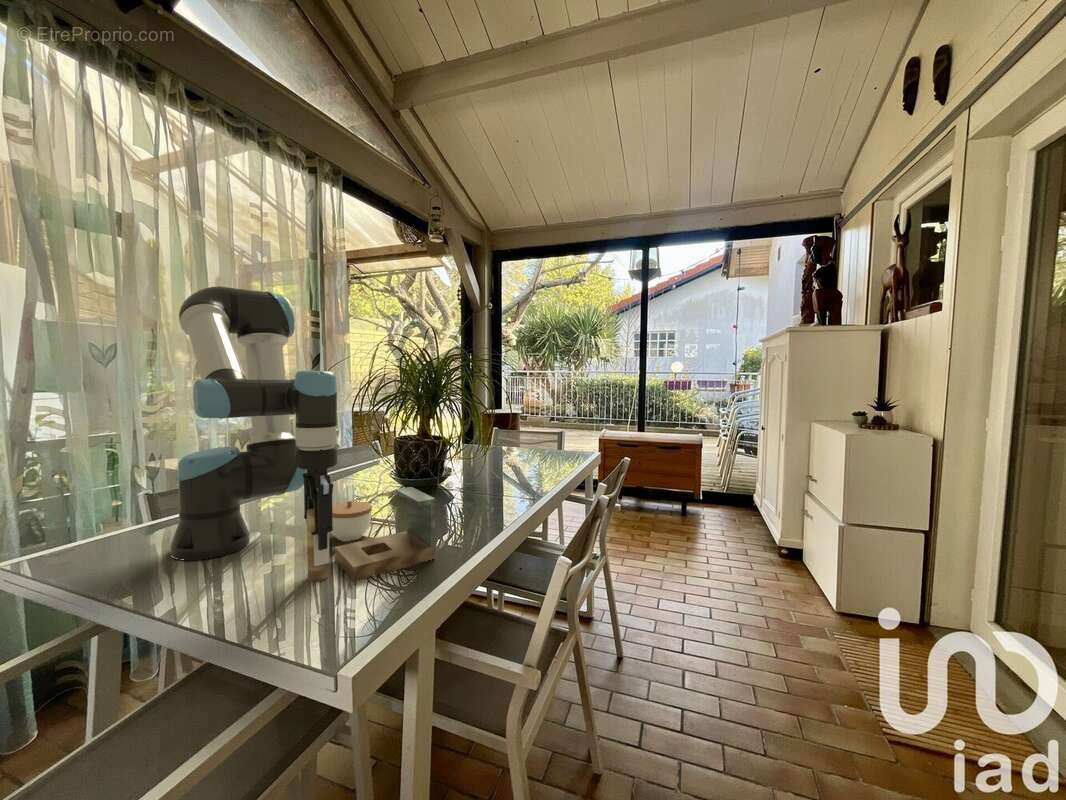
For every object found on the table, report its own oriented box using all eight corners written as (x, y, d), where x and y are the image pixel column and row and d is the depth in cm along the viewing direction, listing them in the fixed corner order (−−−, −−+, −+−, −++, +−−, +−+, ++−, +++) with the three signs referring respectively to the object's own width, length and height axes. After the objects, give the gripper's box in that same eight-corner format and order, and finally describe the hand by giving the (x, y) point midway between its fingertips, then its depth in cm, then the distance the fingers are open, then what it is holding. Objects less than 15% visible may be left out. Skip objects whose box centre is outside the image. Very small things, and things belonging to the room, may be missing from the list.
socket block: (353, 581, 89) (353, 513, 89) (335, 560, 99) (334, 498, 99) (435, 559, 101) (435, 498, 100) (410, 541, 111) (410, 486, 110)
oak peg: (310, 583, 88) (309, 514, 88) (305, 576, 91) (304, 509, 91) (331, 577, 91) (330, 510, 90) (326, 570, 94) (325, 506, 93)
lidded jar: (380, 533, 116) (380, 498, 115) (348, 548, 106) (348, 509, 106) (351, 527, 121) (350, 493, 120) (317, 540, 111) (316, 503, 110)
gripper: (349, 451, 85) (350, 569, 87) (324, 440, 99) (326, 542, 100) (307, 455, 80) (308, 580, 82) (287, 443, 94) (288, 550, 95)
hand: (318, 559), depth 91 cm, fingers open, 4 cm apart
